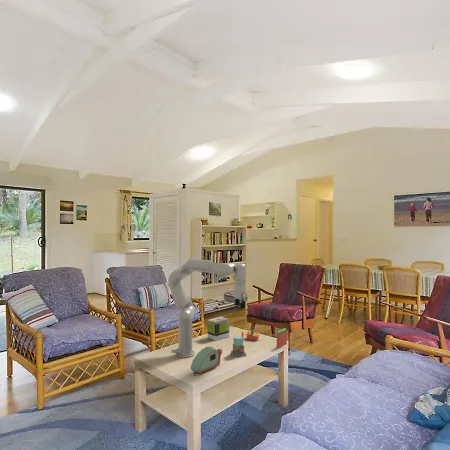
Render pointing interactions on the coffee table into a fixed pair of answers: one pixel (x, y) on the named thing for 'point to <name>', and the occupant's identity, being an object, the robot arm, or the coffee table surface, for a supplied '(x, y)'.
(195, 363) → the toy snail
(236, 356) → the base plate
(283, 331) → the toy building block set
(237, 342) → the teal block
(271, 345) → the coffee table surface
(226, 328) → the tea box
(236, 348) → the walnut block
